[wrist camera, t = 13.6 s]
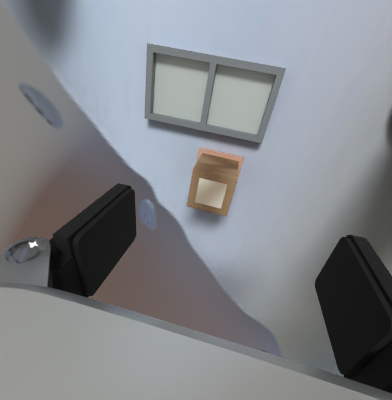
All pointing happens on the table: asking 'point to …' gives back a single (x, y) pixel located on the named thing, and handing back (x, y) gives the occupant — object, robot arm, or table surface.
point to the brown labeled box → (213, 184)
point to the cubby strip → (210, 92)
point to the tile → (223, 155)
